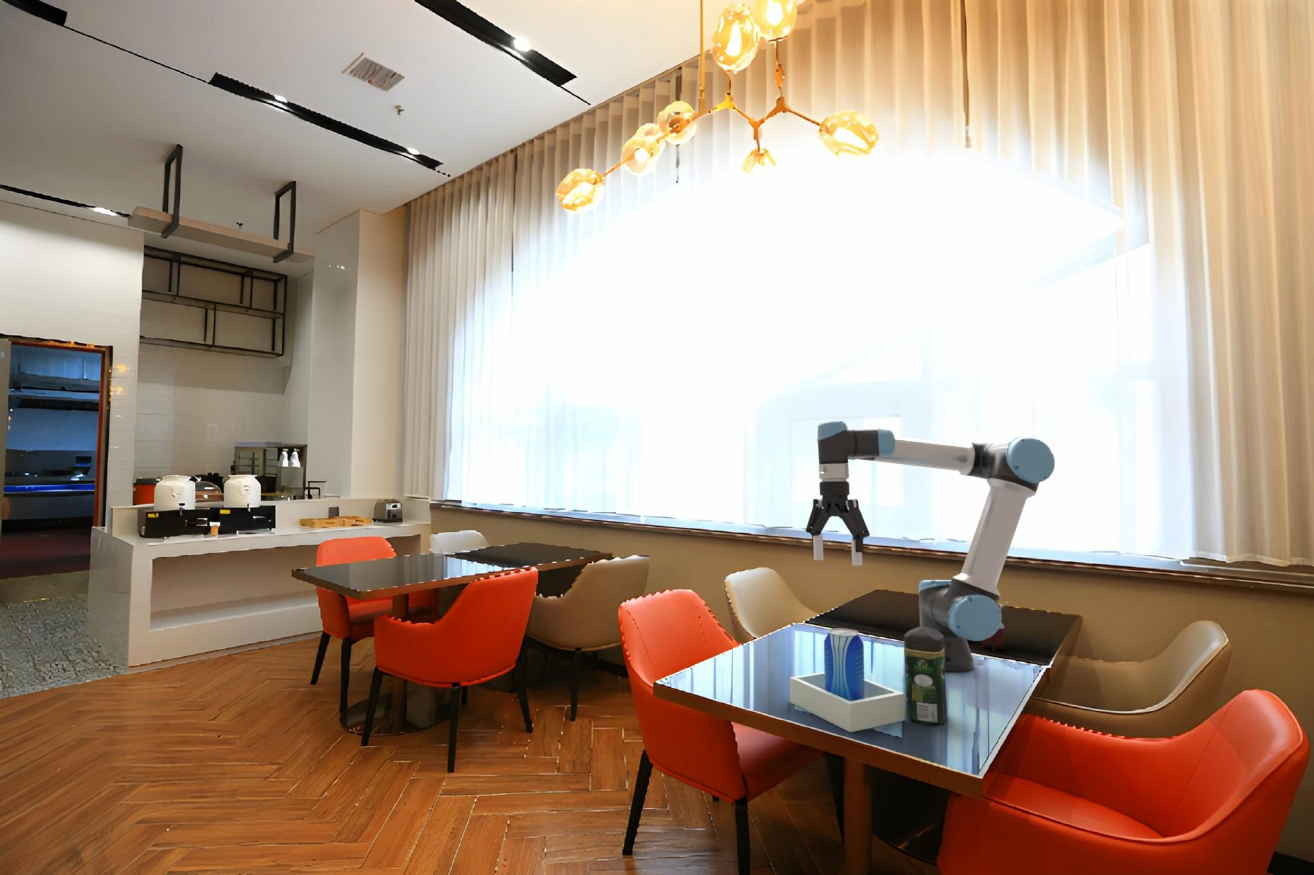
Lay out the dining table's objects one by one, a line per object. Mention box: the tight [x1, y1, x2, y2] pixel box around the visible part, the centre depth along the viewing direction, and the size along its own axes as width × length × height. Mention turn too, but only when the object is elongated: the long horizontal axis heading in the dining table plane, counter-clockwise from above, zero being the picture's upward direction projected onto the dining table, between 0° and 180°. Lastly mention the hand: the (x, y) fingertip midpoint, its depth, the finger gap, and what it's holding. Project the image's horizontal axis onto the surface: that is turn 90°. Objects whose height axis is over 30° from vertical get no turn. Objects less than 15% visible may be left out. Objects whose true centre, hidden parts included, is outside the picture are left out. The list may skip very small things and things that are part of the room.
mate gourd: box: [980, 600, 1010, 652], centre depth 192 cm, size 8×8×15 cm
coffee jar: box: [903, 626, 948, 725], centre depth 135 cm, size 10×8×19 cm
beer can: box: [823, 627, 865, 701], centre depth 139 cm, size 8×8×16 cm
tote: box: [789, 671, 906, 733], centre depth 139 cm, size 15×19×6 cm
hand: (837, 562), depth 163 cm, fingers open, 13 cm apart
